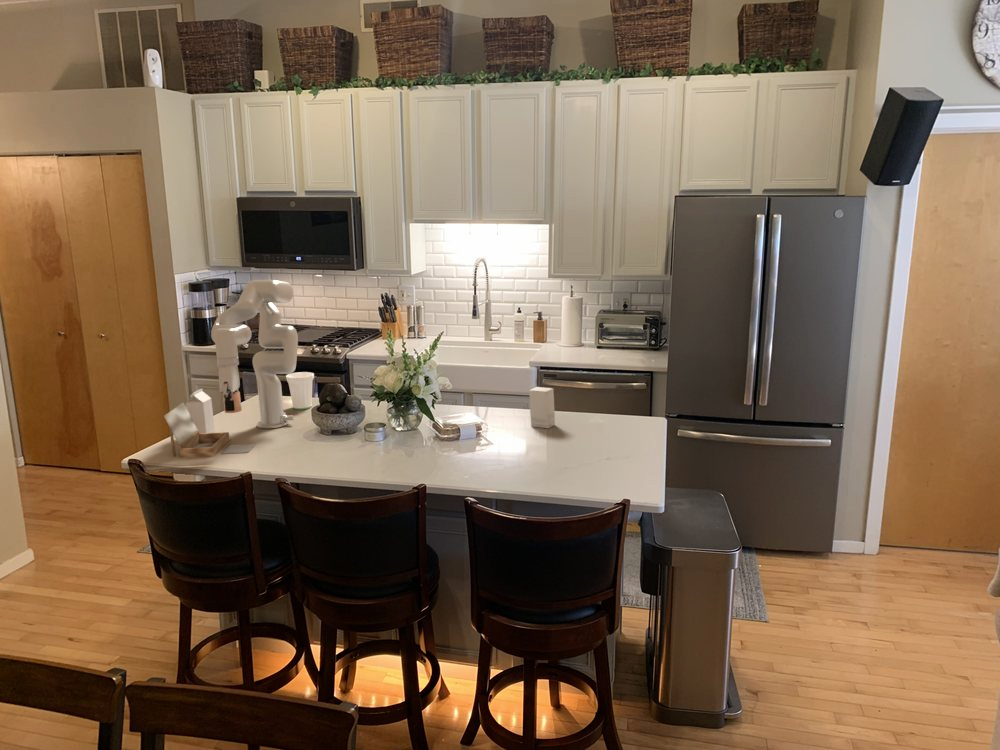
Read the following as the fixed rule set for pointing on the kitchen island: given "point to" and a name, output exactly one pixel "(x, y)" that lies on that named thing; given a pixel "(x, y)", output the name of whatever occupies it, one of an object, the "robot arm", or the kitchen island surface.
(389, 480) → the kitchen island surface
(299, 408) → the cup
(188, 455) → the box
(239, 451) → the slate tile
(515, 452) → the kitchen island surface
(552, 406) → the skincare box
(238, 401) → the pot
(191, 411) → the milk carton
